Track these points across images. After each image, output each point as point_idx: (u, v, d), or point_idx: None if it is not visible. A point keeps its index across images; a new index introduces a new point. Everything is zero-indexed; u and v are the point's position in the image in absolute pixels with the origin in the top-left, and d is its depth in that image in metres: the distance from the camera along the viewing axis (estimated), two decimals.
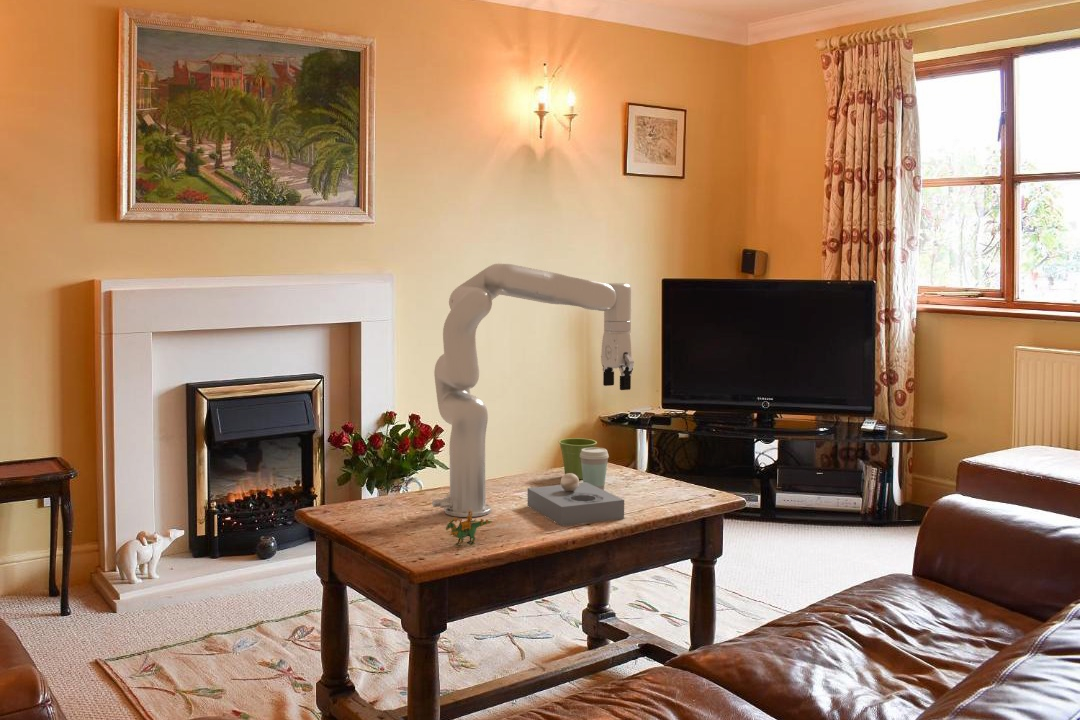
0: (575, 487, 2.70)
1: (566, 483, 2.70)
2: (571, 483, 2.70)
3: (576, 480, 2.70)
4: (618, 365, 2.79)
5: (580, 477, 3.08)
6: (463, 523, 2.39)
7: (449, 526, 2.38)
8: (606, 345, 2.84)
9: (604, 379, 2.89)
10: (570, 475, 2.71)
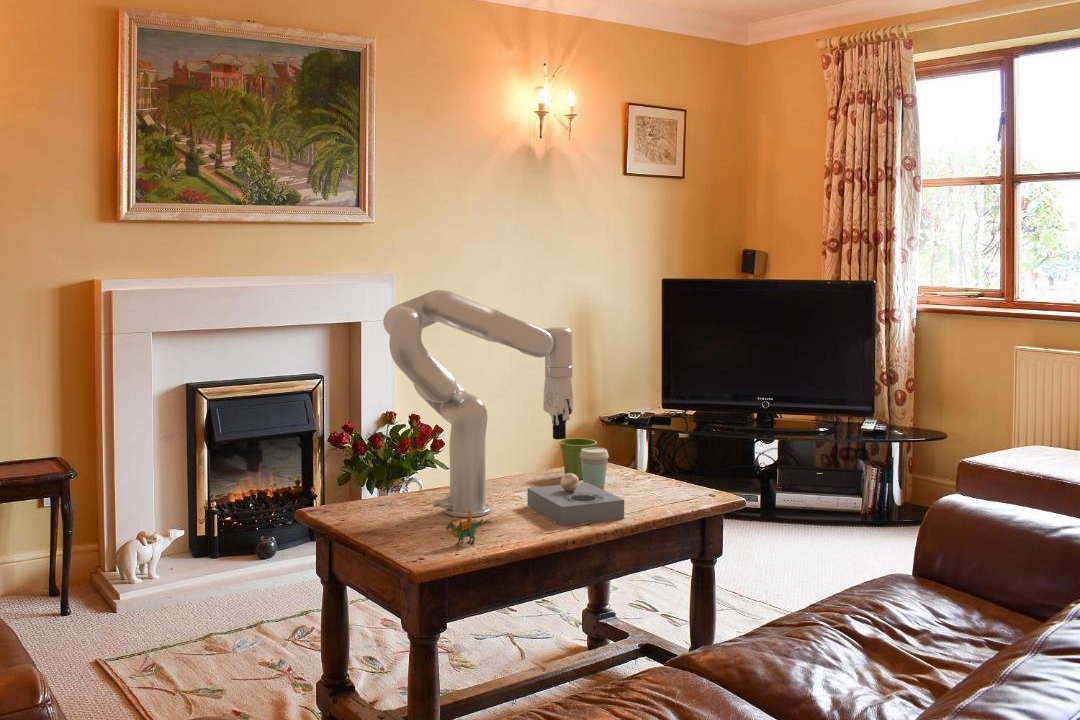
0: (575, 487, 2.70)
1: (566, 483, 2.70)
2: (571, 483, 2.70)
3: (576, 480, 2.70)
4: (559, 412, 2.71)
5: (580, 477, 3.08)
6: (463, 523, 2.39)
7: (449, 526, 2.38)
8: (547, 391, 2.76)
9: (553, 432, 2.77)
10: (570, 475, 2.71)
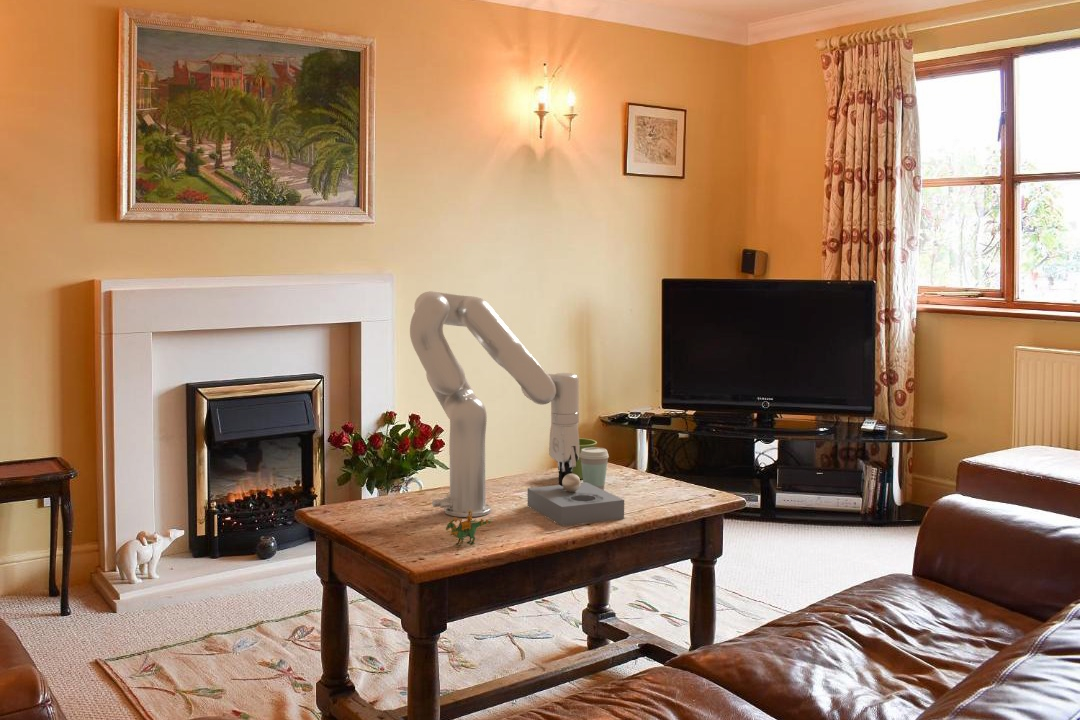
0: (575, 489, 2.70)
1: (567, 484, 2.69)
2: (572, 485, 2.69)
3: (577, 482, 2.70)
4: (565, 459, 2.69)
5: (580, 477, 3.08)
6: (463, 523, 2.39)
7: (449, 526, 2.38)
8: (554, 437, 2.74)
9: (559, 478, 2.75)
10: (572, 476, 2.70)
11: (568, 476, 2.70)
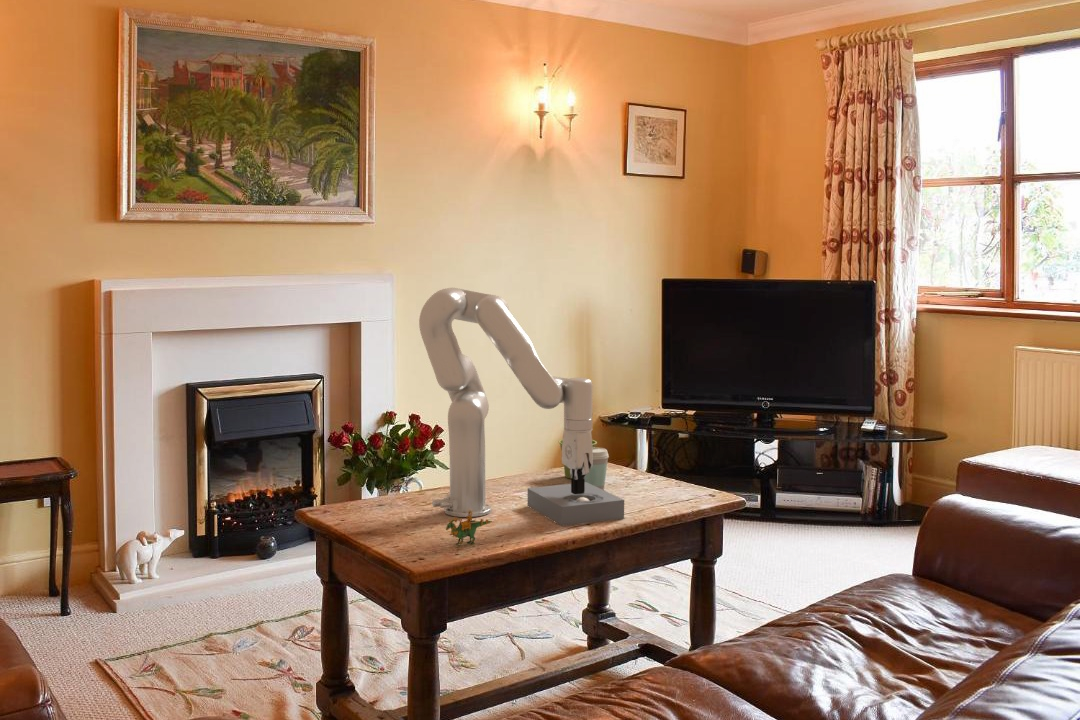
0: None
1: None
2: None
3: None
4: (578, 467, 2.62)
5: None
6: (463, 523, 2.39)
7: (449, 526, 2.38)
8: (566, 444, 2.66)
9: (572, 486, 2.67)
10: None
11: None
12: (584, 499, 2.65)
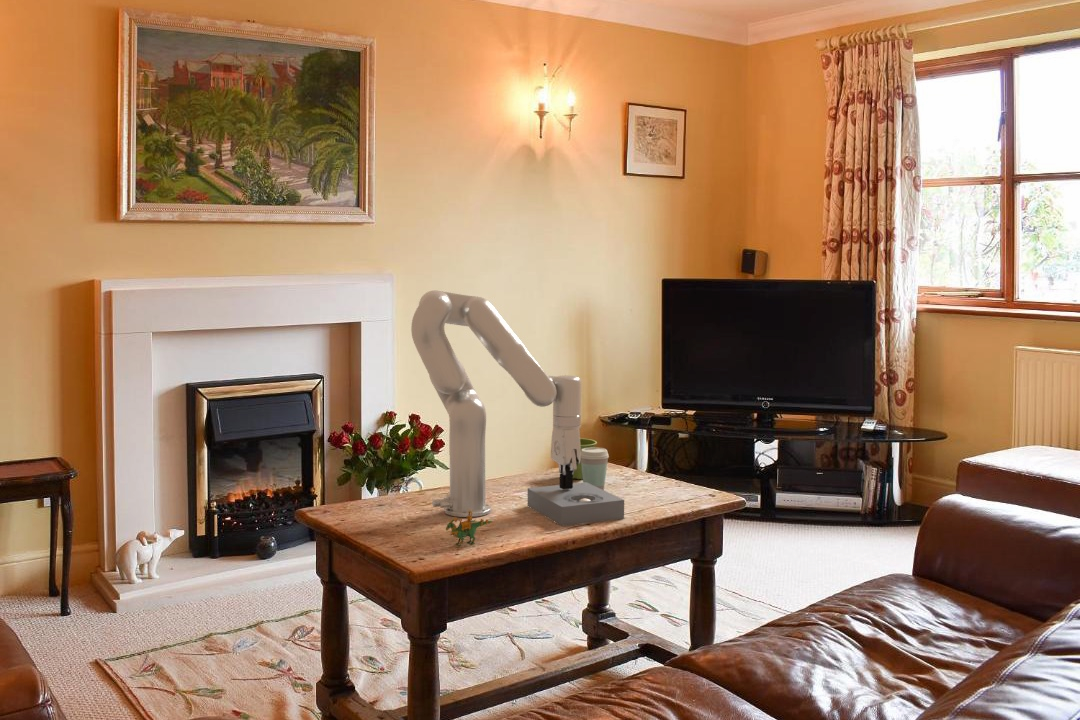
0: None
1: None
2: None
3: None
4: (566, 462, 2.68)
5: (580, 477, 3.08)
6: (463, 523, 2.39)
7: (449, 526, 2.38)
8: (555, 440, 2.72)
9: (560, 481, 2.74)
10: None
11: None
12: None
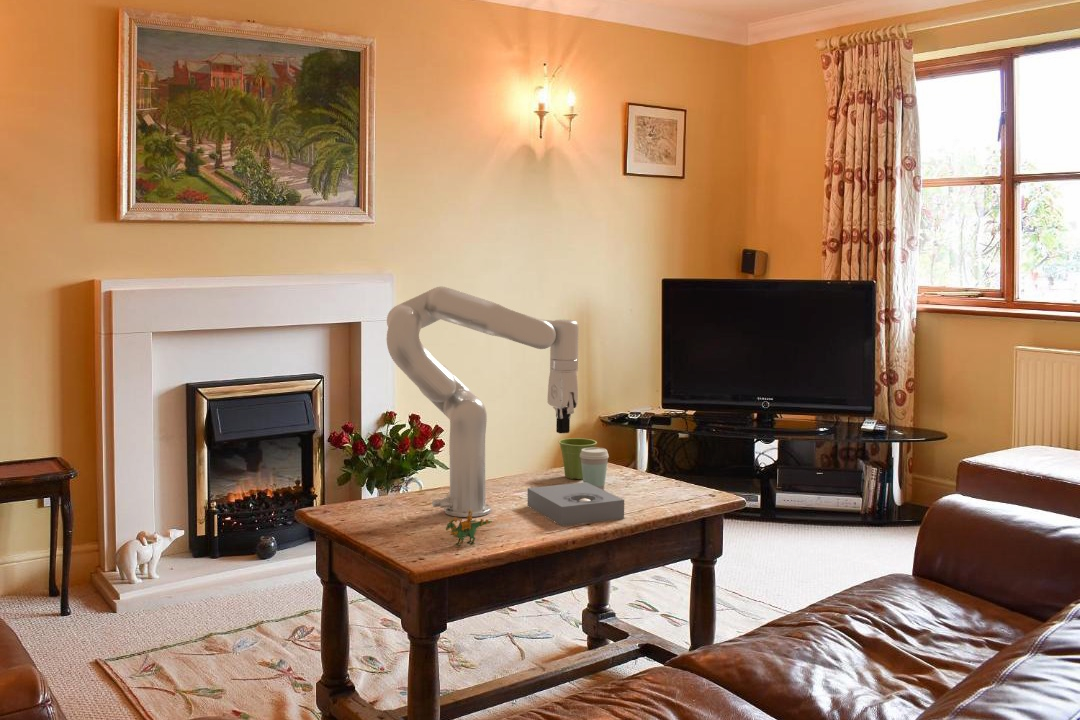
0: None
1: None
2: None
3: None
4: (563, 406, 2.68)
5: (580, 477, 3.08)
6: (463, 523, 2.39)
7: (449, 526, 2.38)
8: (552, 384, 2.73)
9: (557, 426, 2.74)
10: None
11: None
12: None
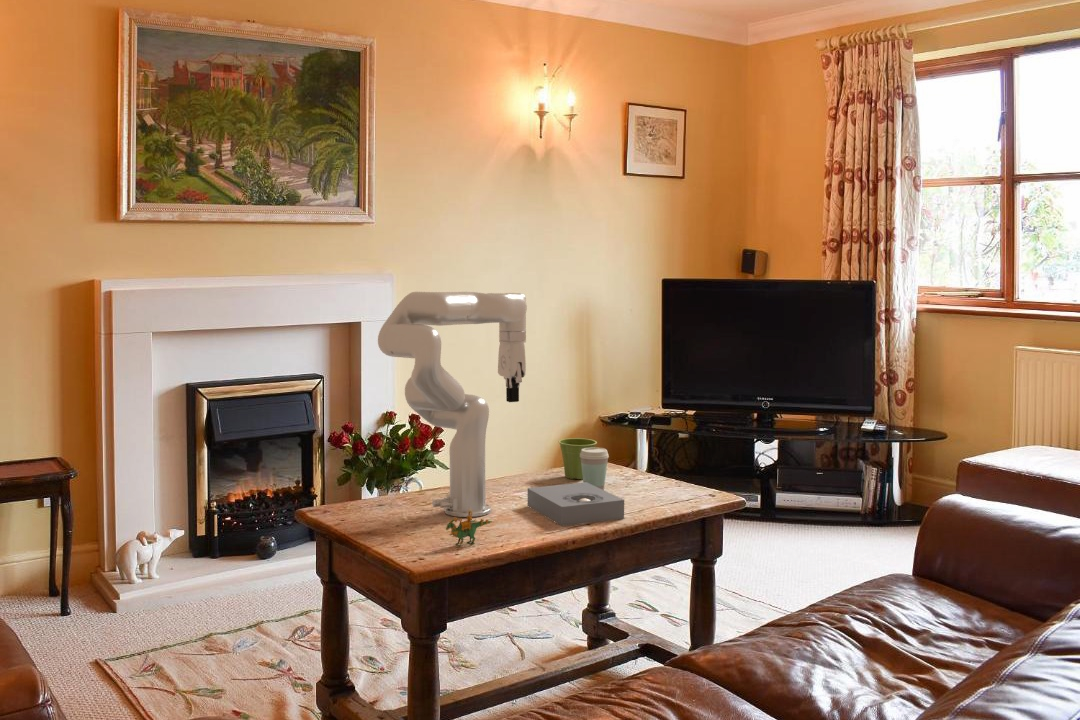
0: None
1: None
2: None
3: None
4: (512, 375, 2.79)
5: (580, 477, 3.08)
6: (463, 523, 2.39)
7: (449, 526, 2.38)
8: (501, 355, 2.84)
9: (507, 395, 2.85)
10: None
11: None
12: None
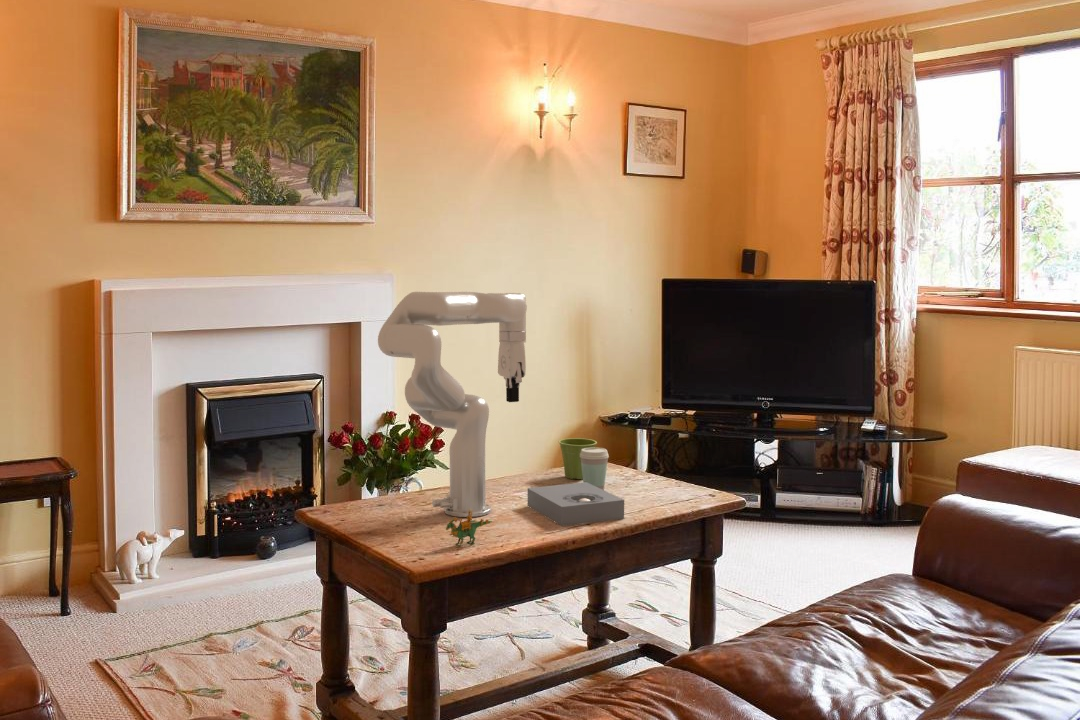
0: None
1: None
2: None
3: None
4: (512, 375, 2.79)
5: (580, 477, 3.08)
6: (463, 523, 2.39)
7: (449, 526, 2.38)
8: (501, 355, 2.84)
9: (507, 395, 2.85)
10: None
11: None
12: None
